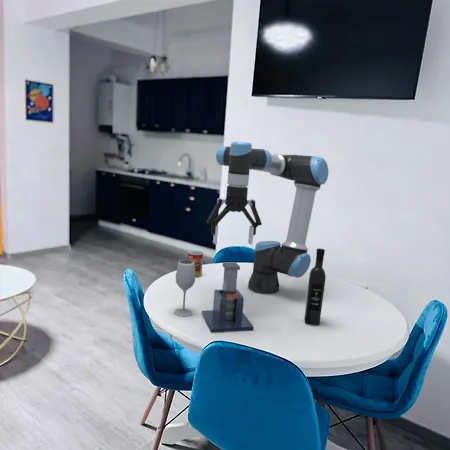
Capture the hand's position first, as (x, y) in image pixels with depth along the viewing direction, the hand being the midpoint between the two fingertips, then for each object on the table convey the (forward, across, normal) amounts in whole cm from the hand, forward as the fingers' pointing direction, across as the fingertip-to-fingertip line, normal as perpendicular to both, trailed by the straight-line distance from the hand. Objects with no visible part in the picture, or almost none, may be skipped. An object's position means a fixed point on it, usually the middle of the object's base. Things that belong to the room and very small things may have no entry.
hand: (232, 243), depth 148 cm
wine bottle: (+31, -34, +4) cm, 46 cm away
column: (+29, 0, 0) cm, 29 cm away
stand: (+31, 0, 0) cm, 31 cm away
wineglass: (+31, +15, -10) cm, 36 cm away
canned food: (+31, +2, -55) cm, 63 cm away
